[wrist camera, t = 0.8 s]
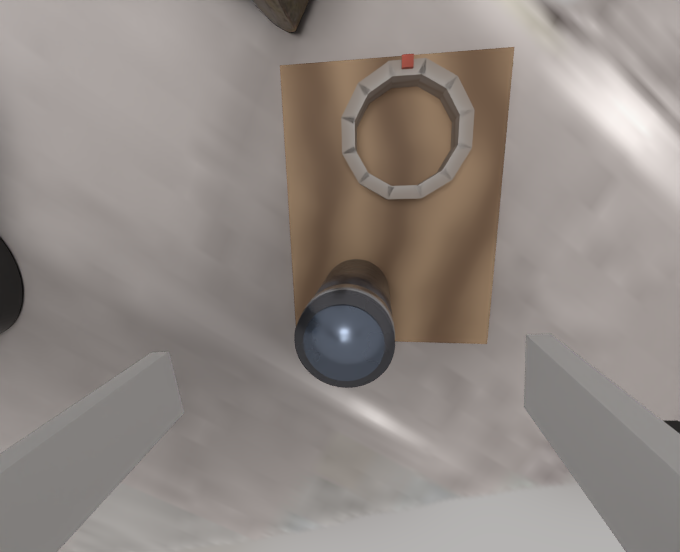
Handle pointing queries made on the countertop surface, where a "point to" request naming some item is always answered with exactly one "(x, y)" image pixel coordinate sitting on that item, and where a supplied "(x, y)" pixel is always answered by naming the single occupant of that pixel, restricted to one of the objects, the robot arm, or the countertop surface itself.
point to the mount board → (401, 181)
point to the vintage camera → (283, 12)
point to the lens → (348, 326)
